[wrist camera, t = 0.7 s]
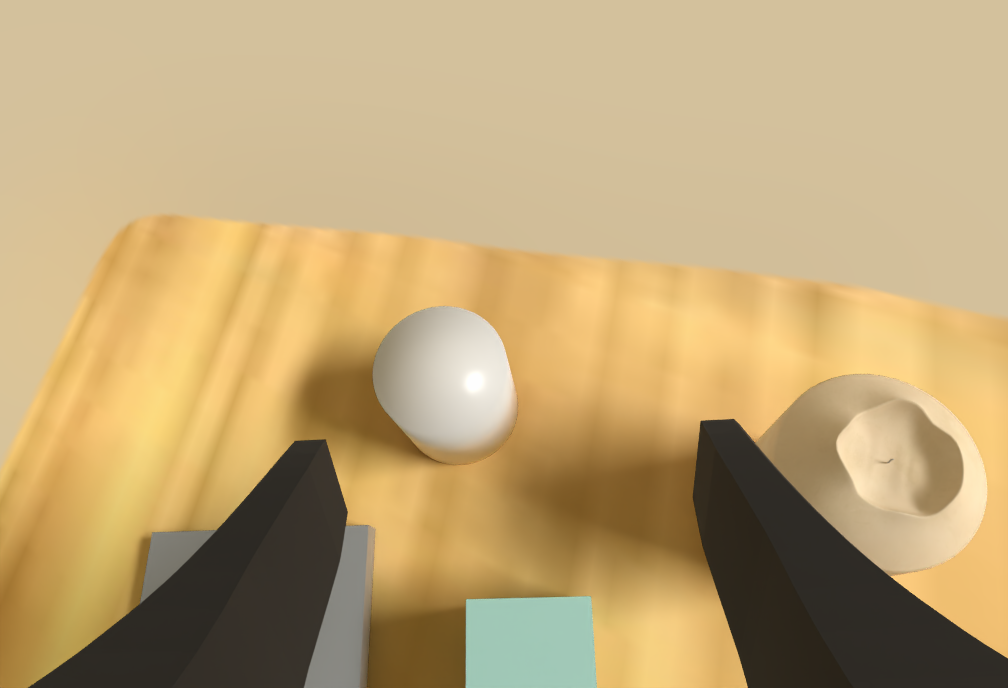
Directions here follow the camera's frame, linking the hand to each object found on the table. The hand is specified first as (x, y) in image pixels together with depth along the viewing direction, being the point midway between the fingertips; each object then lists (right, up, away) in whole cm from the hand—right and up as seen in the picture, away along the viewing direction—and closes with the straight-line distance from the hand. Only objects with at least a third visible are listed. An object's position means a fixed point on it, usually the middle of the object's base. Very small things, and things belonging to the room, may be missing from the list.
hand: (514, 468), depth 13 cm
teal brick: (+1, -10, +12) cm, 16 cm away
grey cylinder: (-2, 0, +16) cm, 17 cm away
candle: (+11, -4, +14) cm, 18 cm away
